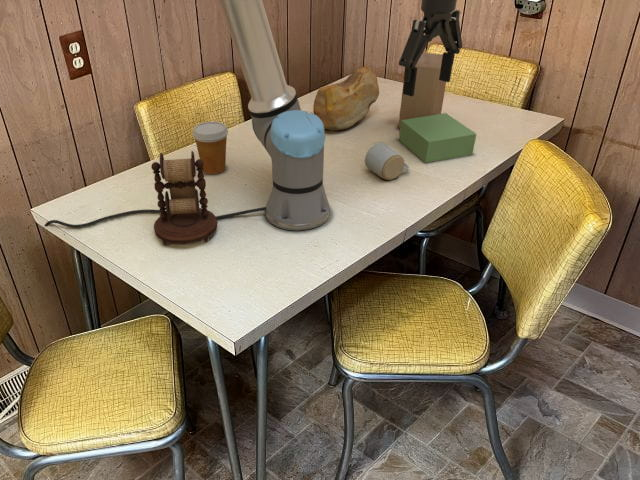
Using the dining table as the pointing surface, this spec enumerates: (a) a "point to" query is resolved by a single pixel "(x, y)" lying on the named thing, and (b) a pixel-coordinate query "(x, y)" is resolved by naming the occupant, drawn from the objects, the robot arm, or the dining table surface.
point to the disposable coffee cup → (211, 145)
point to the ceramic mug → (385, 161)
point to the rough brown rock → (346, 100)
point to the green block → (437, 137)
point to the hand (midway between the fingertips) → (426, 87)
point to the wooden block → (424, 90)
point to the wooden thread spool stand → (182, 202)
